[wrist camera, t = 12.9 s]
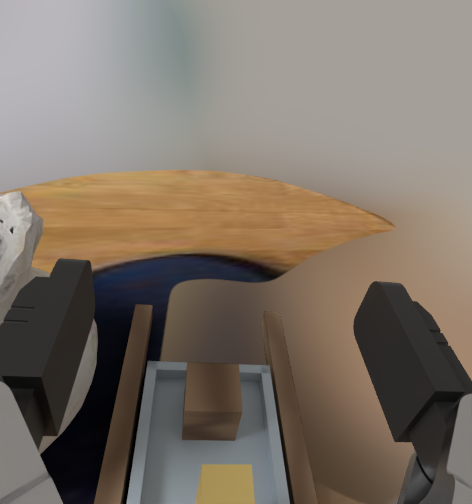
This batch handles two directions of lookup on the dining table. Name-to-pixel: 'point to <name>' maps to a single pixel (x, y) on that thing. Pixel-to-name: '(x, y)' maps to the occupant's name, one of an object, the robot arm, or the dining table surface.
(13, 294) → the ceramic pitcher
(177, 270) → the dining table surface
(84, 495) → the dining table surface
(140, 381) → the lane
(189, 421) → the block
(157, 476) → the shallow grey tray
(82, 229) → the dining table surface
